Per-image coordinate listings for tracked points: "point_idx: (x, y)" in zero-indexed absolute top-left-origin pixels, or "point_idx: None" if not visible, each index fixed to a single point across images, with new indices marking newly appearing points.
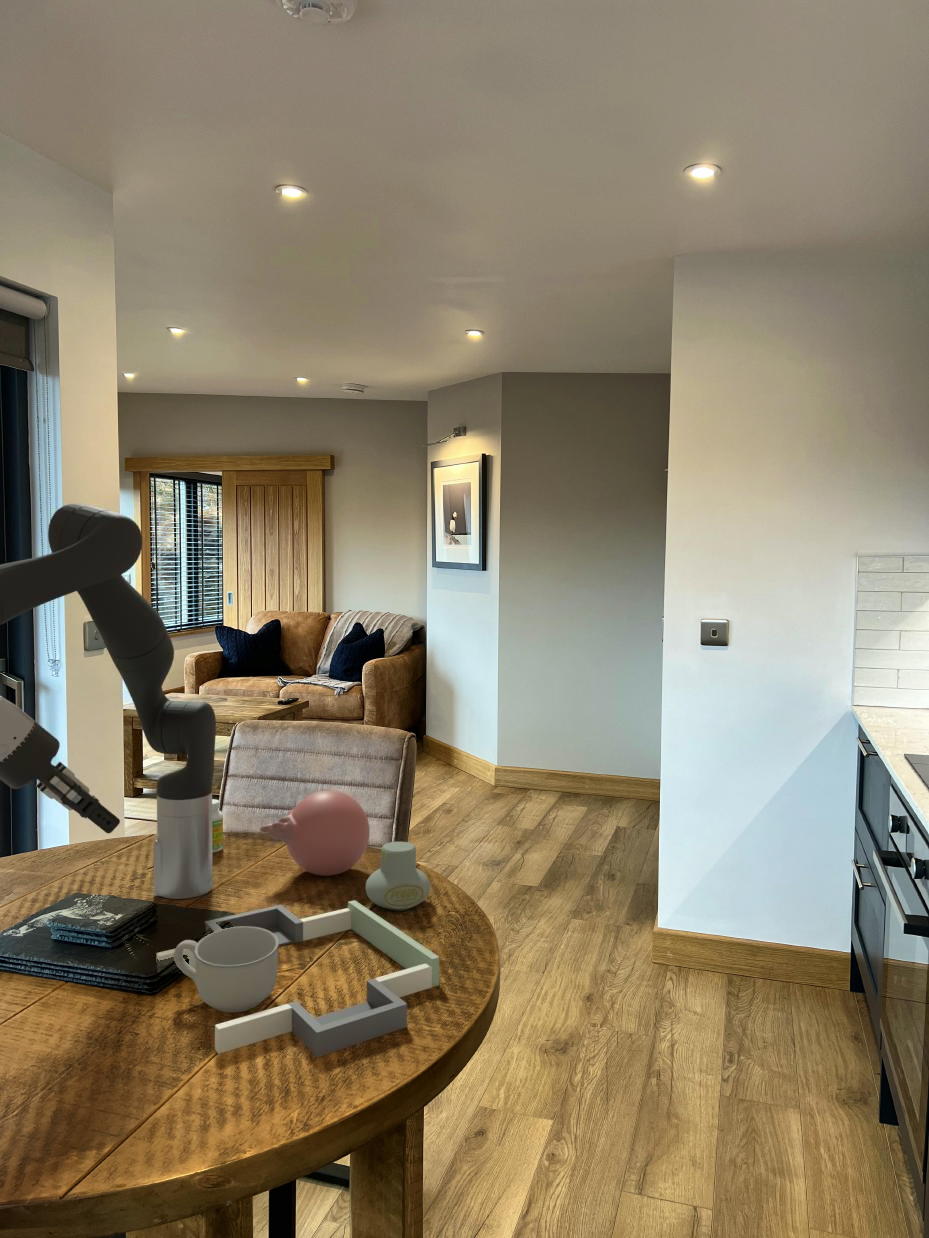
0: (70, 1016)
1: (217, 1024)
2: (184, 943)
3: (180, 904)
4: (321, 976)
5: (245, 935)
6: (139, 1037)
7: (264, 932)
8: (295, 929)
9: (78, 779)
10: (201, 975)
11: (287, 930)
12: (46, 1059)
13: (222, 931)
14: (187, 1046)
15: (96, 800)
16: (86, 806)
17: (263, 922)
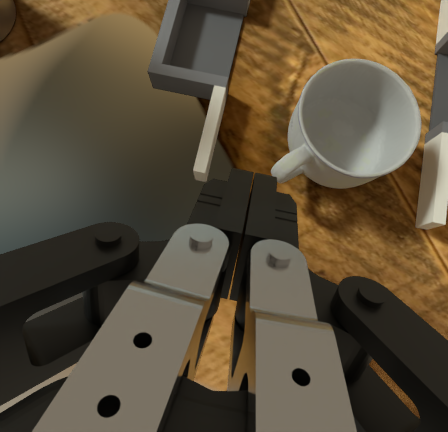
0: (222, 311)
1: (433, 219)
2: (297, 164)
3: (18, 48)
4: (345, 49)
5: (316, 83)
6: (331, 274)
7: (346, 65)
8: (246, 2)
9: (134, 336)
10: (354, 182)
11: (220, 6)
12: None
13: (302, 105)
14: (388, 245)
15: (425, 323)
16: (364, 363)
17: (181, 13)
